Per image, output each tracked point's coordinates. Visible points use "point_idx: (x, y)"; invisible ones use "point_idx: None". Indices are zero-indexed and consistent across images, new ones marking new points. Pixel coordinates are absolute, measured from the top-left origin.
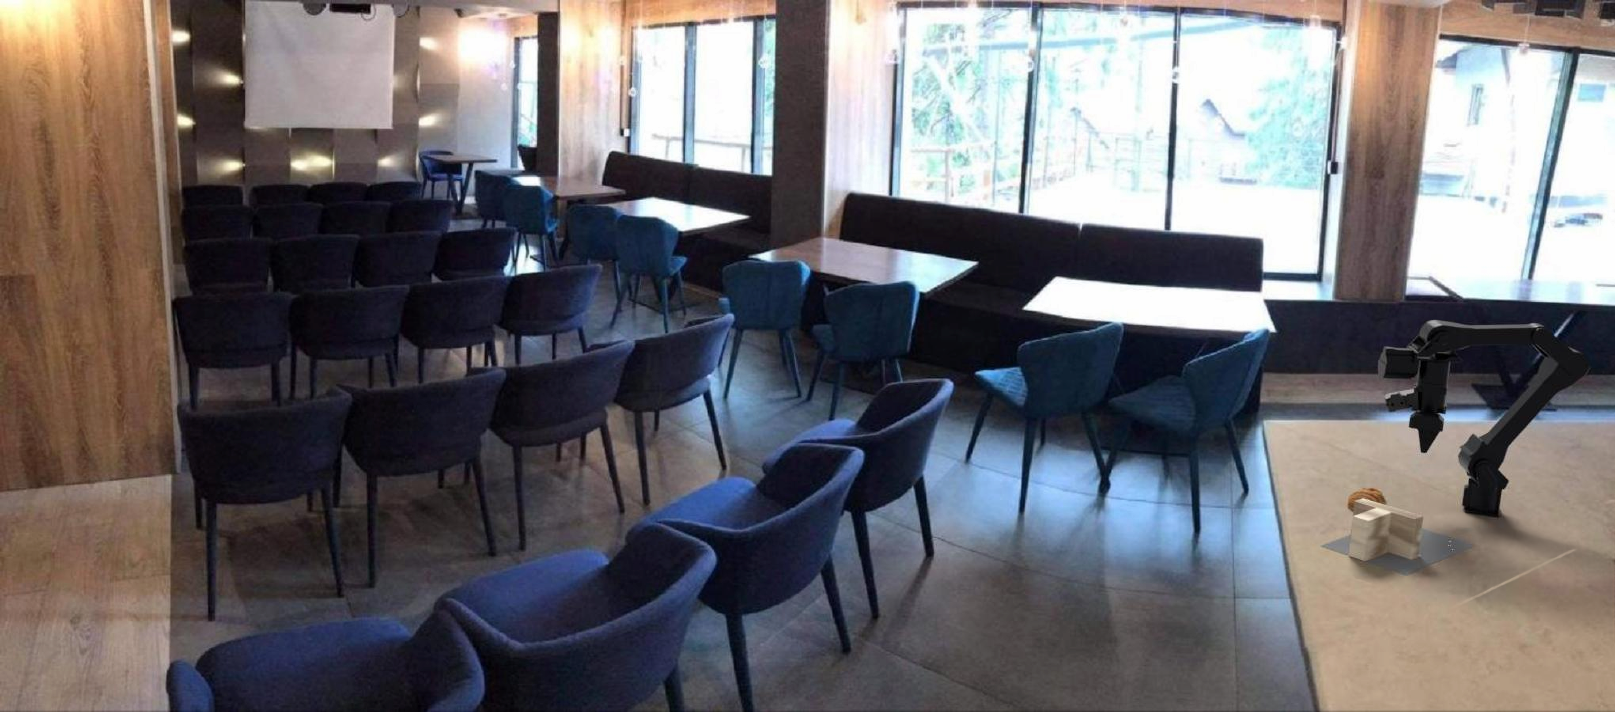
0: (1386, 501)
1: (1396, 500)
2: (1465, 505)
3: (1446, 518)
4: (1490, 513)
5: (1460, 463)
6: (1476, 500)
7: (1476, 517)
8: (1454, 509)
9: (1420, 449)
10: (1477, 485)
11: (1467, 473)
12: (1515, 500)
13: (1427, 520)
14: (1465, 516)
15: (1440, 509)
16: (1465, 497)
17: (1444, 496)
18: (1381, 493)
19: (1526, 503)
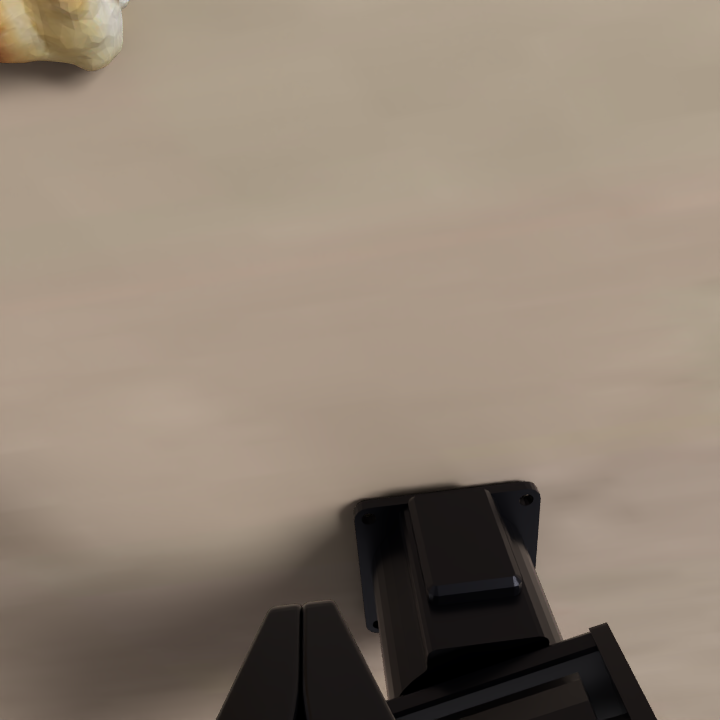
0: (88, 67)
1: (351, 108)
2: (403, 516)
3: (163, 448)
4: (366, 605)
5: (538, 717)
6: (384, 599)
7: (302, 552)
8: (379, 453)
9: (252, 646)
10: (399, 687)
11: (595, 642)
12: (701, 625)
13: (25, 371)
14: (281, 513)
15: (327, 395)
16: (417, 549)
17: (626, 371)
18: (63, 13)
19: (670, 659)
